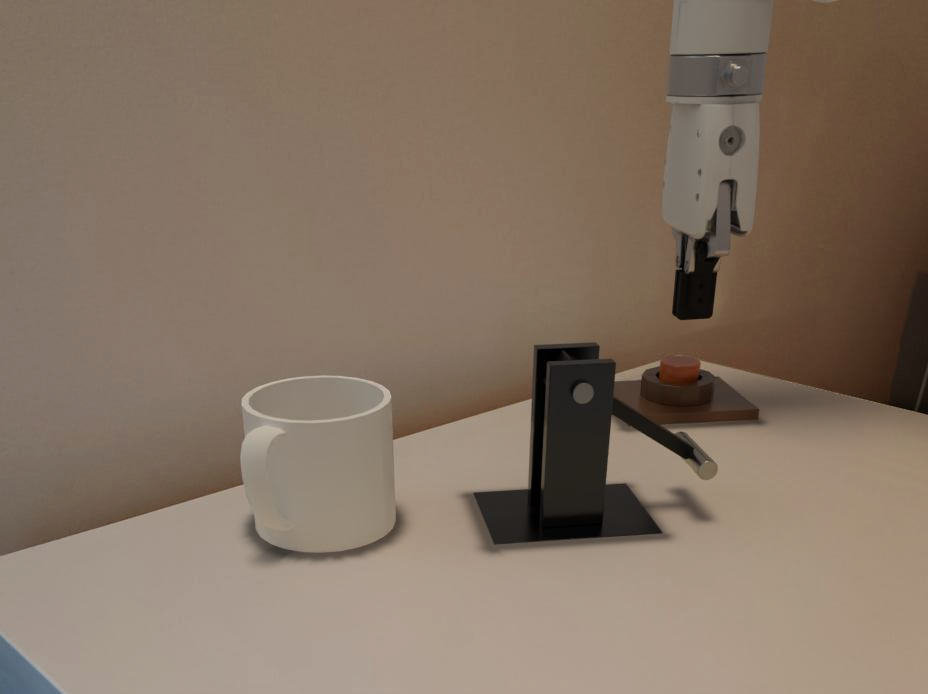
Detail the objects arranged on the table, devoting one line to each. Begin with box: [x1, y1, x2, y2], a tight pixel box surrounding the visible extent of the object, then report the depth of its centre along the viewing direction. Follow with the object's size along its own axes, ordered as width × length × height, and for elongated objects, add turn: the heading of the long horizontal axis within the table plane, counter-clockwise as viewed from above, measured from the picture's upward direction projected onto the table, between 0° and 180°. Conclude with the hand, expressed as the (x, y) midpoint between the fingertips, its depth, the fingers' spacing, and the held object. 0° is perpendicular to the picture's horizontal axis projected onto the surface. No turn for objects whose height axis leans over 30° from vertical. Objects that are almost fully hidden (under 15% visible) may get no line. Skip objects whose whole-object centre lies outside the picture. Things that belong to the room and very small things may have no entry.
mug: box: [239, 374, 397, 554], centre depth 69 cm, size 13×10×10 cm
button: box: [659, 355, 702, 383], centre depth 91 cm, size 4×4×2 cm
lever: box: [543, 350, 719, 481], centre depth 70 cm, size 13×6×2 cm
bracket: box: [472, 341, 664, 546], centre depth 70 cm, size 12×9×13 cm
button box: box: [613, 365, 760, 427], centre depth 93 cm, size 12×10×4 cm
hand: (691, 316), depth 89 cm, fingers closed
